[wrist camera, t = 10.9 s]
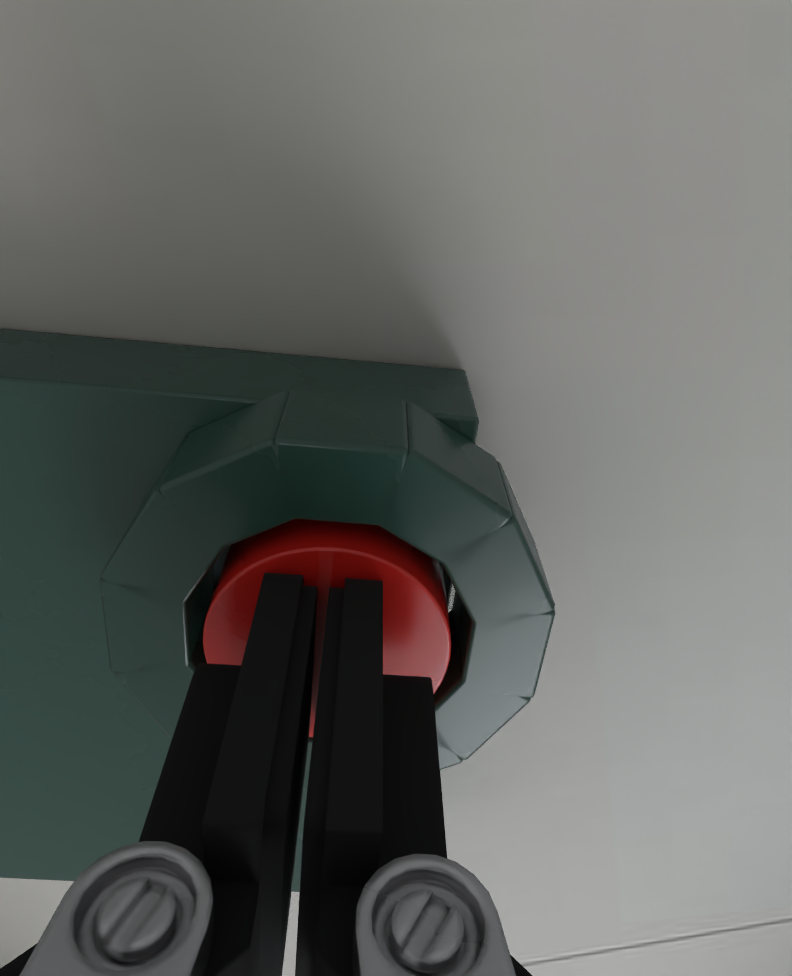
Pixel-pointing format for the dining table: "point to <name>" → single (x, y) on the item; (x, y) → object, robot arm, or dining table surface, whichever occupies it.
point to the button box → (216, 554)
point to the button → (326, 563)
